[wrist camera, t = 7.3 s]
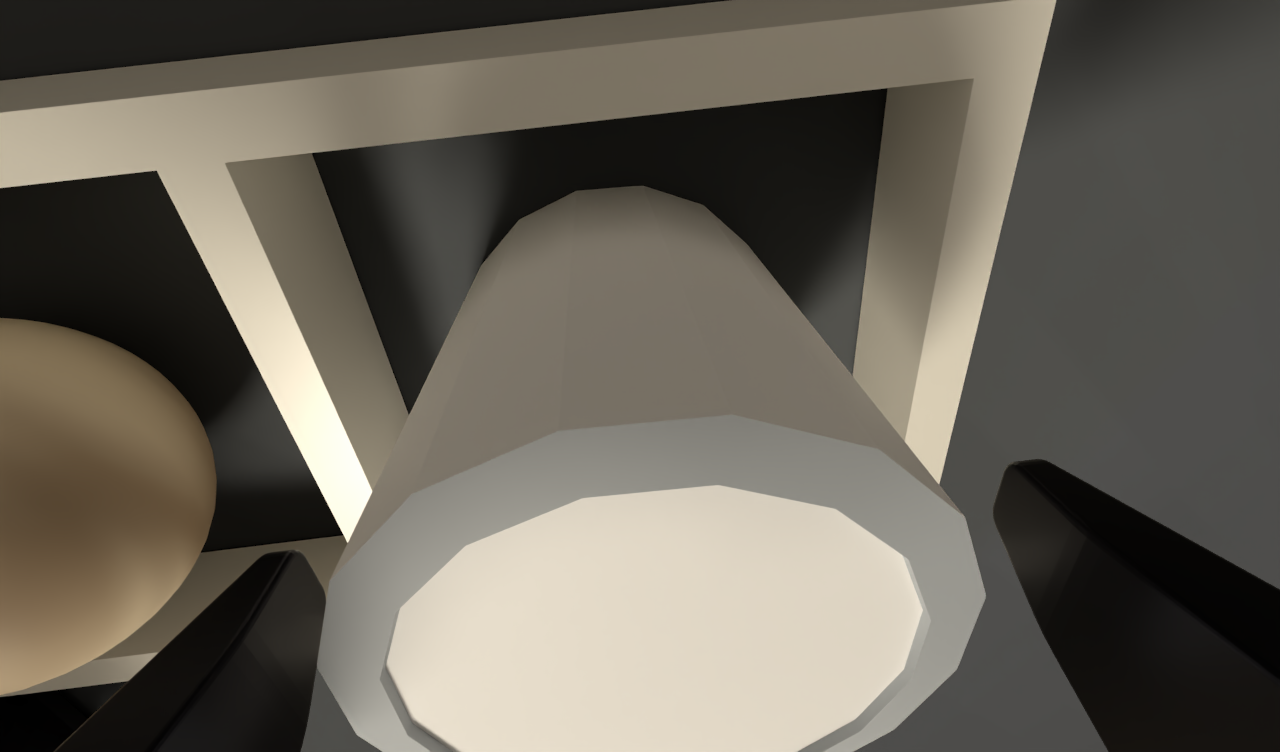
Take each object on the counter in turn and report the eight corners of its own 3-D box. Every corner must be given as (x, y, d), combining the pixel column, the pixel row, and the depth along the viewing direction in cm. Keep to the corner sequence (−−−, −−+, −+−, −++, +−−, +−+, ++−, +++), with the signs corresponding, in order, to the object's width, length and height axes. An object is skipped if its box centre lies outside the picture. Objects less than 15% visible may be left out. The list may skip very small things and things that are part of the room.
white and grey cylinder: (861, 350, 13) (1074, 679, 8) (593, 510, 15) (606, 867, 10) (662, 51, 10) (786, 253, 4) (351, 308, 12) (149, 679, 6)
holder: (871, 495, 16) (915, 582, 14) (-1, 602, 15) (-87, 707, 13) (954, -25, 10) (1057, -5, 8) (-491, 134, 9) (-787, 200, 7)
